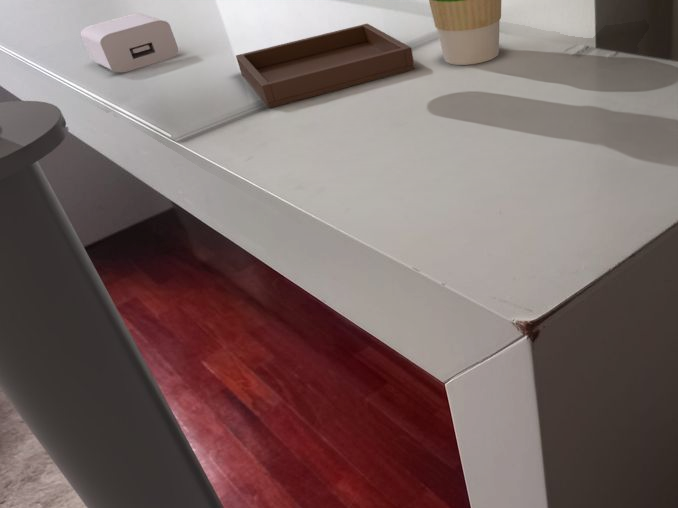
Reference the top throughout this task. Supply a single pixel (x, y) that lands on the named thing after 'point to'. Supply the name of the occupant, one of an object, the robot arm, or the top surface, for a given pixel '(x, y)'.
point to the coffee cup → (467, 29)
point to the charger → (129, 42)
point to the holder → (323, 64)
